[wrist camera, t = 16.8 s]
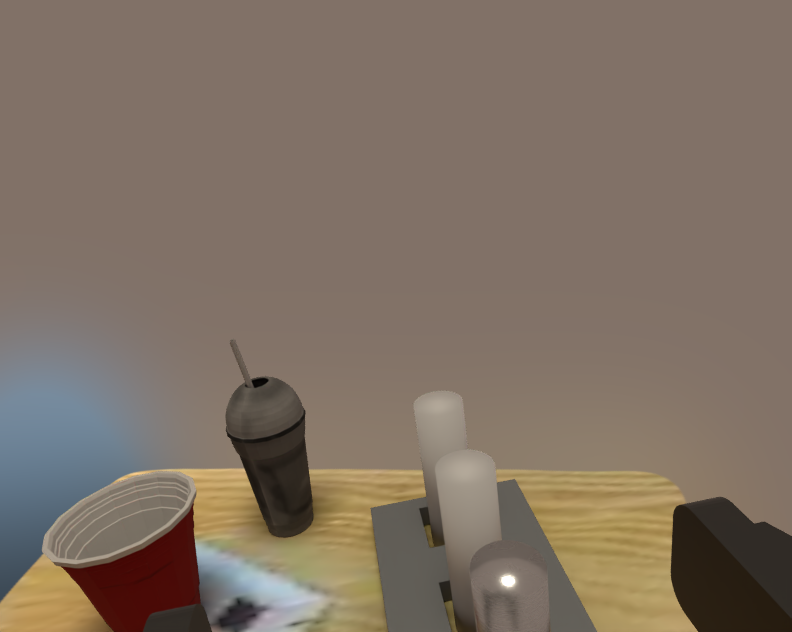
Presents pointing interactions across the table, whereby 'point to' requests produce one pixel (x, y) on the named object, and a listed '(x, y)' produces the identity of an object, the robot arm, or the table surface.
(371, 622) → the table surface
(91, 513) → the plastic cup
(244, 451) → the beverage cup
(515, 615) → the steel pin
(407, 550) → the pin board
